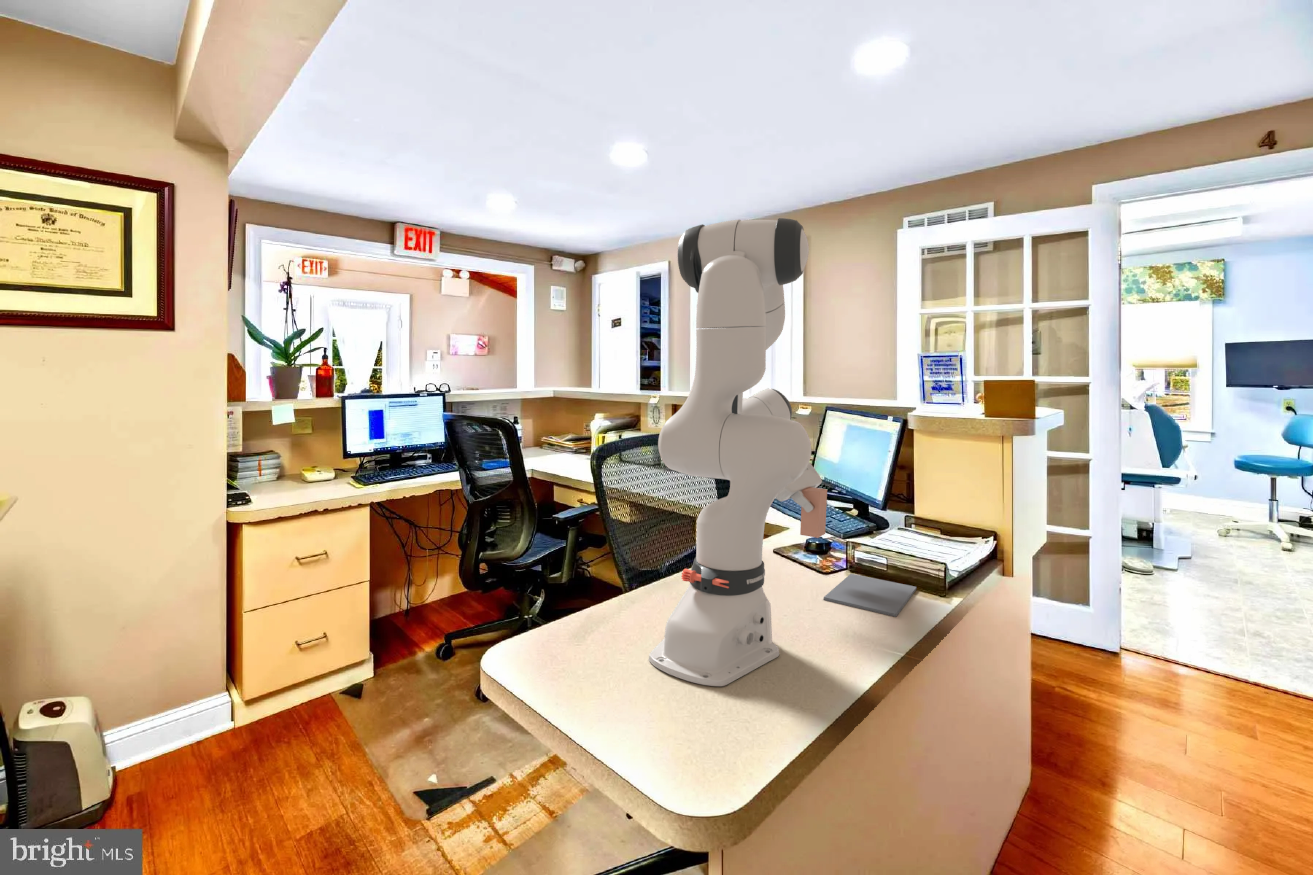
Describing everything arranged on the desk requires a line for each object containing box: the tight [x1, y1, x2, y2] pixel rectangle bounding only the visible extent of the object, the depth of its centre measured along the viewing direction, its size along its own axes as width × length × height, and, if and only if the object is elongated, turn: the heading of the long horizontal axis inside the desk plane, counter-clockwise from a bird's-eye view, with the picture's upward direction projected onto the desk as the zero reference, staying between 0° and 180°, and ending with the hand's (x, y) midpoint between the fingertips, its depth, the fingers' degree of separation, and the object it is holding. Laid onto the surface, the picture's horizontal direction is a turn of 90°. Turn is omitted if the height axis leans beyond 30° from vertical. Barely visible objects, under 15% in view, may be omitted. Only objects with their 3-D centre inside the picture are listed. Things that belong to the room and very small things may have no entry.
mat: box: [823, 573, 917, 618], centre depth 119 cm, size 18×14×1 cm
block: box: [799, 487, 828, 539], centre depth 125 cm, size 4×4×10 cm
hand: (816, 508), depth 124 cm, fingers closed on block, 4 cm apart
